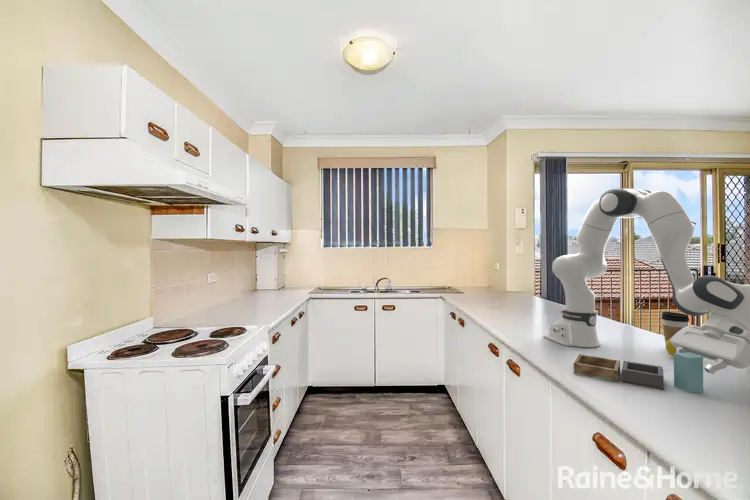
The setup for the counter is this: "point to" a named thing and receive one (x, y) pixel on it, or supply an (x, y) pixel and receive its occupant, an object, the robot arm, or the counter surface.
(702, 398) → the counter surface
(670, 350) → the lemon
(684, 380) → the teal block
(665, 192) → the robot arm
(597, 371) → the walled bay
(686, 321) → the coffee cup
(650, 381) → the box
